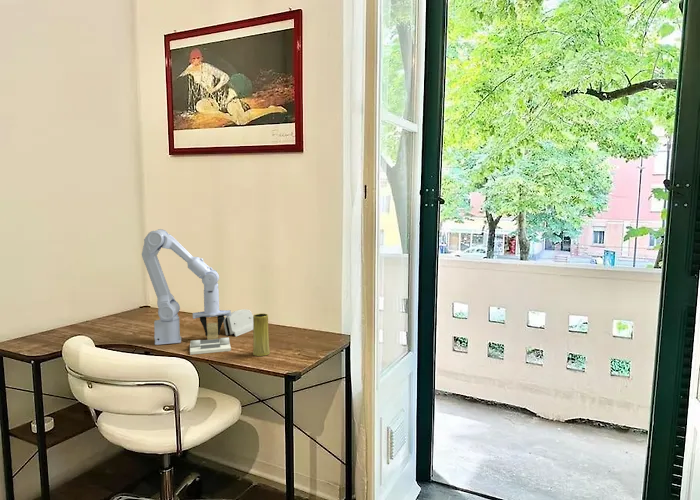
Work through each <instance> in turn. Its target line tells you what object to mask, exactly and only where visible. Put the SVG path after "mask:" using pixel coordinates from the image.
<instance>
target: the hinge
mask: <svg viewBox="0 0 700 500" xmlns="http://www.w3.org/2000/svg"><path fill="white" fill-rule="evenodd" d="M253 315H254V314H253V313H252V311H251V310H250V309H244V308H243V309H237V310H233V311H231V316H224V321H223V323H222V324H223V327H224V331H225V335H226V336H229V335H230V336H231V335H233V334H234V337H238V336H241V335H244V334H246V333H249V332H251V331H253Z"/></svg>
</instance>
